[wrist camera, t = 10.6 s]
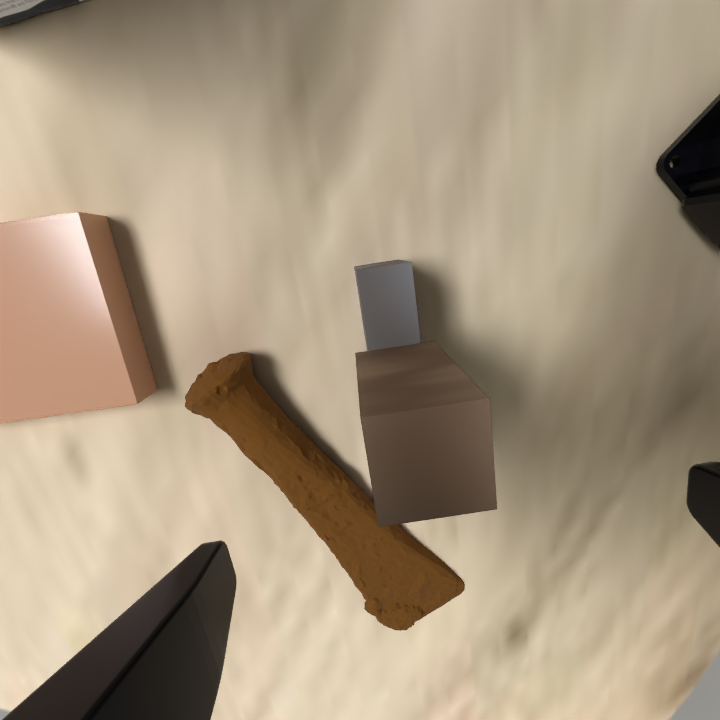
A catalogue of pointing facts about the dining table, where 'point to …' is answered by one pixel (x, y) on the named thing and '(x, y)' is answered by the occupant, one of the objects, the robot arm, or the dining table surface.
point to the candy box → (28, 8)
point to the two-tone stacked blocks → (417, 410)
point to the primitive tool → (325, 497)
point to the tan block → (66, 320)
